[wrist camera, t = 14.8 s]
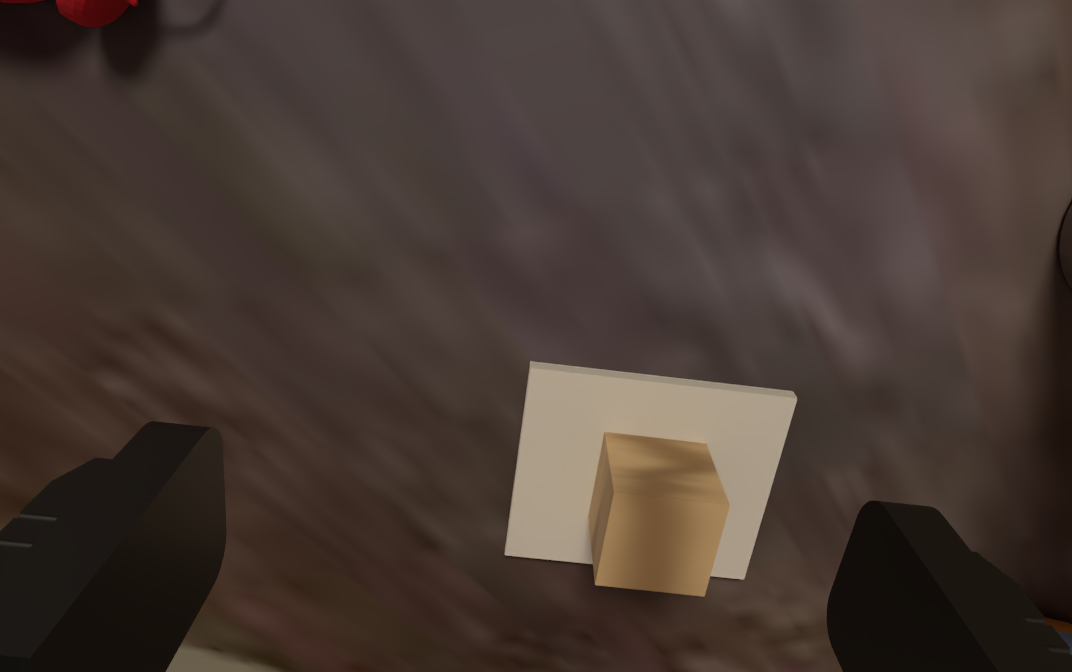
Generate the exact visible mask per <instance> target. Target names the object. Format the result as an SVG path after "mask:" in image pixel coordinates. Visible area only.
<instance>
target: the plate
mask: <svg viewBox="0 0 1072 672" xmlns="http://www.w3.org/2000/svg"><path fill="white" fill-rule="evenodd" d="M796 402H797V397H796V395H795V394H794V392H793V391H787V390H778V389H769V388H761V387H752V386H743V385H734V384H726V383H717V382H708V381H699V380H691V379H682V378H673V377H664V376H656V375H647V374H638V373H629V372H620V371H612V370H603V369H594V368H585V367H577V366H568V365H559V364H550V363H542V362H533V361H530V366H529V373H528V380H527V388H526V395H525V403H524V410H523V417H522V425H521V432H520V440H519V447H518V454H517V462H516V469H515V477H514V484H513V491H512V499H511V506H510V514H509V521H508V528H507V536H506V543H505V555H507V556H517V557H527V558H537V559H546V560H556V561H566V562H576V563H586V564H593V561H592V550H591V540H590V530H589V520H588V515H589V509H590V504H591V499H592V494H593V489H594V483H595V478H596V473H597V468H598V463H599V458H600V452H601V447H602V442H603V437H604V432H611V433H620V434H628V435H637V436H646V437H654V438H663V439H672V440H680V441H689V442H697V443H706V444H707V447H708V450H709V452H710V455H711V457H712V460H713V463H714V465H715V468H716V470H717V473H718V476H719V478H720V481H721V483H722V486H723V489H724V491H725V494H726V496H727V499H728V502H729V504H730V507H729V511H728V514H727V518H726V521H725V525H724V529H723V532H722V536H721V539H720V543H719V546H718V550H717V554H716V557H715V561H714V564H713V568H712V571H711V575H710V576H714V577H723V578H733V579H743V580H744V578H745V574H746V571H747V568H748V564H749V561H750V558H751V554H752V551H753V547H754V544H755V541H756V537H757V534H758V530H759V527H760V524H761V520H762V517H763V514H764V510H765V507H766V503H767V500H768V497H769V493H770V490H771V486H772V483H773V480H774V476H775V473H776V469H777V466H778V463H779V459H780V456H781V453H782V449H783V446H784V442H785V439H786V436H787V432H788V429H789V425H790V422H791V419H792V415H793V412H794V409H795V405H796Z"/></svg>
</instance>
